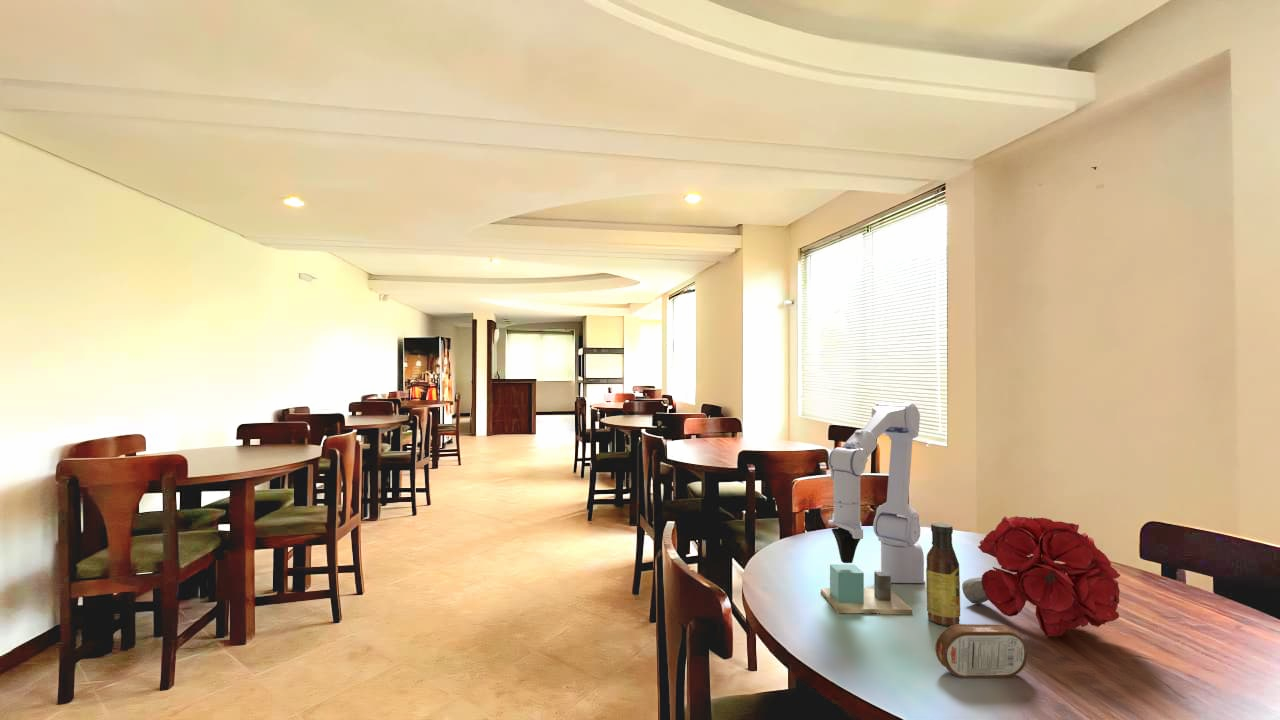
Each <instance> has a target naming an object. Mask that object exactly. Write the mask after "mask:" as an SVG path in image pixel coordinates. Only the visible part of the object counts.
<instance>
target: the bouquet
mask: <svg viewBox="0 0 1280 720" xmlns="http://www.w3.org/2000/svg"><path fill="white" fill-rule="evenodd" d="M1079 525H1080V524H1075V523H1072V522H1071V523H1070V522H1069V523H1067V522H1065V521H1053V520H1052V519H1050V518H1045V517H1032V516H1029V517H1026V516H1017V515H1016V516H1012V517H1009V518H1008V517H1007V516H1006V515H1004V517H1002V519H1001V521H1000V522H999V523H998V524H997V525H996V527H995V529H994V530H991V531H990V532H988V534H986V536H985V537H984V538H983V539H981V540H980V541H979V544H980V545H978V546H977V548H978V549H979V550H980V551H981V552H982V553H984V554H986V555H990V556H992V557H994V558H995V559H996V561H997V563H998V565H999V566H1001V567H1000V568H998V567H995V566H992V568H993V569H989V570H987V571H985V572H983V574H981V577H973V578H972V577H971V578H968V579H966V580H964V581H963V583H962V585H961V589H962V593H963V595H964V597H965V598H966V600H968V601H969V602H970V603H971V604H976V605H977V604H981V603H985V602H988V601H989V602H990V604H992V605H993V606H994V607H995V608H996V609H997V610H998V611H999V612H1000V613H1001V614H1002V615H1004V616H1007V617H1014V616H1018V615H1019V613H1021V612H1022V611H1023V609H1024V607H1025V606H1026V602H1029V603H1030V604H1031V605H1033V606H1035V613H1034V614H1035V616H1036V619H1037V620H1038V621H1037V622H1038V623H1039V628H1040V630H1041V631H1042V632H1043V633H1044V635H1045V637H1047V636H1048V637H1052V636H1055V637H1057V636H1056V635H1059V636H1063V635H1065V633H1066V631H1067V630H1073V629H1077V628H1078V627H1080V626H1081V627H1082V628H1083V627H1086V626H1088V625H1091V626H1093V627H1097V628H1099V627H1100V626H1102V625H1104V626H1105V625H1106V623H1108V622H1113V621H1114V622H1115V621H1116V620H1118V619H1119V618H1120V613H1119V612H1118V611H1117V609H1118V606H1119V603H1120V592H1121V590H1120V588H1119V581H1118V580H1116V579H1118V578H1119V577H1121V574H1120V573H1119V572H1118V571H1117V570H1116V569H1115V568H1114V567H1112V563H1111V560H1110V559H1109V558H1108V556H1107V555H1106V554H1105V553H1104V552H1102V551H1101V550H1100V549H1099V548H1097V546H1096V545H1095V540H1094V538H1092V537H1089V534H1087V533H1086V532H1084V533H1082V534H1081V533H1079V532H1078V531H1079V529H1080V526H1079ZM1057 562H1060V563H1057ZM1061 562H1062V563H1061Z"/></svg>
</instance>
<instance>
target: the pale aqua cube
mask: <svg viewBox="0 0 1280 720" xmlns="http://www.w3.org/2000/svg"><path fill="white" fill-rule="evenodd" d="M864 576H865V575H864V572H863V571H862V570H861V569H860V568H859V567H858V566H856V565H855V564H830V565H829V588H830V594H831V595H832V596H833V597H834V599H835V600H836V601H837V602H838V603H864V586H865V584H864V582H865V581H864V580H865V579H864V578H865V577H864Z"/></svg>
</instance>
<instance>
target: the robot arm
mask: <svg viewBox="0 0 1280 720" xmlns="http://www.w3.org/2000/svg"><path fill="white" fill-rule="evenodd" d="M920 421H921V414H920V412H919V408H918V407H917V405H916V404H915V403H895V402H882V401H878V402H876V403H875V404H874V405H873V406H872V407H871V418H870V420H869V421H868V423H867V424H866V425H865V426H864V428H863V429H856V430H855V431H854V432H853V434H852V435H851V436H850V437H849V438H848V439H847V440H846V441H845V443H843V445H842V446H841V447H835V448H834V449H832V450H831V451H830V453H829V455H828V456H829V457H828V460H827V466H828V469H829V470H830V477H831V480H832V481H833V512H832V513H831V514H832V516H831V519H828V520H827V521H828V522H827V523H828V524H829V525H830V526H835V528H832V529H831V532H832V534H833V535H834V538H835V541H836V544H837V549H838V554H839V557H840V562H842V563H843V564H852V563H853V562H854V558H855V554H856V550H857V548H858V544H859V542H860V541H861V540H863V539H864V529H863V528H862V521H861V475H862V474H863V473H864V472H865V469H866V465H867V463H868V460H869V459H868V457H869V456H870V455H871V454H872V453H873V451H875V449H876V448H877V445H878V441H877V439H878V438H879V437H881V436H882V434H883V435H886V436H888V438H889V440H890V452H889V453H890V454H889V464H888V479H887V492H886V493H887V494H886V502H884V503H882V504H881V505H879V506H877V508H876V512H875V517H874V518H873V524H872V528H873V530H872V531H873V532H874V534H875V536H876V537H878V538H877V539H878V541H879V542H880V569H878V570H877V569H876V570H874V572H887V573H888V574H889V575H890V576H891V584H926V580H925V557H924V552H923V548H922V546H921V544H919V543H918V541H919V539H920V538H921V537H920V536H921V525H920V514H919V513H918V511H916V510H915V509H914V508H913V507H911V505H910V504H909V493H910V481H911V467H912V453H913V441H914V440H913V439H916V438H918V436H919V432H920V424H921V423H920ZM902 516H903V517H902ZM837 527H838V528H837Z"/></svg>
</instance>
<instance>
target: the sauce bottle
mask: <svg viewBox="0 0 1280 720" xmlns="http://www.w3.org/2000/svg"><path fill="white" fill-rule="evenodd" d="M953 528H954V527H953V525H951V524H950V523H949V524H948V523H943V522H932V523H931V524H930V531H931V536H932V539H931V545H932V546H931V548H930V549H929V550H928V552H927V554H926V568H925V570H926V571H925V572H926V575H925V576H926V579H925V584H926V611H927V617H928V619H929V620H930V621H931V622H933V623H935V624H938V625H942V626H948V627H950V626H952V625H956V624H960V616H961V590H960V589H961V585H960V584H961V582H960V581H961V579H960V578H961V577H960V563H959V560H958V557H957V555H956V553H955V549H954V547H953V535H952V534H953V533H954V532H953Z"/></svg>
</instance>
